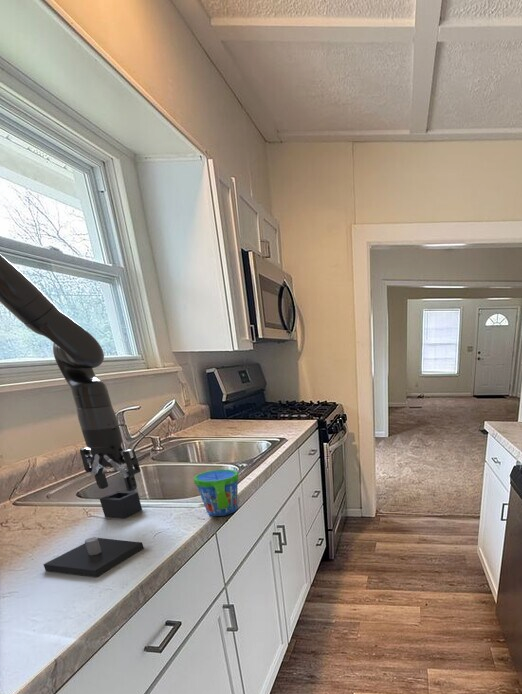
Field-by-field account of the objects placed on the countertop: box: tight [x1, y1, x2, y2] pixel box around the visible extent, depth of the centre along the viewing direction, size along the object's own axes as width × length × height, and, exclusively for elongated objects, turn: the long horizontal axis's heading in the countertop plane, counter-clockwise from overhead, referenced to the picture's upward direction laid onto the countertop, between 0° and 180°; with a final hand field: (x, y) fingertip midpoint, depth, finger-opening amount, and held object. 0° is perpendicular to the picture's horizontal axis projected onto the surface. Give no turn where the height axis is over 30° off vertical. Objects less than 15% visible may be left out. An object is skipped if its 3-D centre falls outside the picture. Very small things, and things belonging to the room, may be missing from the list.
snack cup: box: [193, 469, 240, 517], centre depth 104 cm, size 16×10×10 cm
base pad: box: [42, 536, 145, 578], centre depth 82 cm, size 12×12×4 cm
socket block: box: [99, 490, 143, 519], centre depth 104 cm, size 6×6×5 cm
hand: (118, 489), depth 102 cm, fingers open, 8 cm apart
